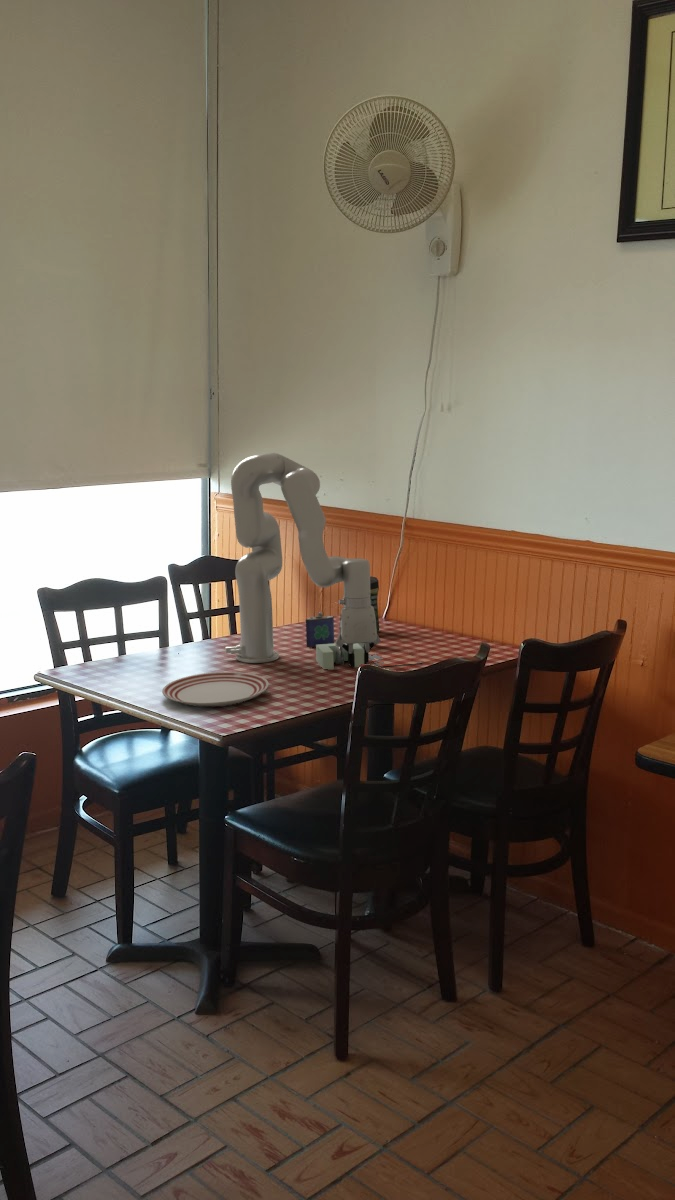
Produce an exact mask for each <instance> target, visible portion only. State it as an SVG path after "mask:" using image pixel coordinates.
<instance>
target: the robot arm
mask: <svg viewBox="0 0 675 1200" xmlns="http://www.w3.org/2000/svg"><path fill="white" fill-rule="evenodd" d="M271 483H273V484H275V485H278V486H280V489H281V493H282V495H283V497H284V500H285V503H286V504H287V507H288V509H289V511H290V514H291V517H292V519H293V521H294V523H295V527H296V528H297V529H296V530H297V532H298V546H299V552H300V557H301V560H302V563H303V565H304V567H305V570H306V571H307V574H308V576H309V578H310V580H311V582H313V583H314V584H315V585H316V586H317V587H319V588H328V587H331V586H333V585H335V584H338V583H342V582H343V597H342V599H338V604H339V605H343V606H342V607H341V611H340V617H339V634H338V636H337V638H336V640H335V641H334V642H335V644H336V645H337V646H340V647H342V648H344V649H345V650H346V651H347V652H348V662H347V664H348V665H349V666H350V665H351V666H350V667H351V668H356V667H355V657H354V653H353V644H357V643H363V647H362V648H363V649H364V664H367V665H368V664H369V663H370V662H369V661H370V659H369V653H370V651H371V650H372V649H373V648H374V646H376V645H378V644H379V643H381V642H382V640H381V638H380V637H379V634H378V633H377V629H376V618H375V612H374V607H372V606H371V600H370V576H371V564H370V561H369V560H367V559H366V558H360V557H359V558H346V557H342V556H338V555H337V556H328V554H327V551H326V549H325V546H324V538H323V537H324V531H325V527H326V523H327V522H326V521H327V519H326V515H325V513H324V511H323V508H322V507H321V504H320V502H319V499H318V498H317V494H318V493H319V490H320V488H321V481H320V479H319V476H318V475H317V473H315V471H314V470H312V469H310V468H308V467H306V466H304V465H302V464H300V463H298V462H296V461H294V460H292V459H290V458H288V457H286V456H284V455H282V454H279V453H275V452H268V453H260V454H254V455H251V456H248V457H246V458H245V459H242V461H240V462H239V463H237V465H236V466H235V467H234V469H233V472H232V474H231V477H230V486H231V487H230V488H231V495H232V496H231V497H232V504H233V516H234V517H233V518H234V526H235V536H236V539H237V543H239V545H240V546H242V547H244V548H247V549H251V552H247V553H245V554H244V555H243V556H241V557H240V558H239V559H238V560H237V563H236V565H235V568H234V569H235V571H234V573H235V574H234V575H235V580H236V585H237V590H238V591H237V592H238V602H239V604H238V606H239V620H240V621H239V624H240V626H239V627H240V642H238V644H237V645H235V646H225V647H224V648H225V649H224V650H225V651H224V652H225V654H230V655H235V654H236V657H235V658H236V660H237V661H238V662H241V663H245V664H246V663H247V664H262V663H269V662H274V661H276V660H278V659H279V658H280V653H279V652H278V651H276V650H274V626H273V625H274V624H273V623H274V622H273V621H274V619H273V601H272V600H273V598H272V592H271V589H270V585H269V581H270V580H273V579H275V578H276V577H278V576H279V574H280V573H281V572H282V568H283V552H282V541H281V540H282V538H281V529H280V525H279V523H278V521H277V519H276V518H275V517H274V516H273V515H272V514H271V513H269V512H266V511H264V500H263V496H262V494H261V491H260V486H262V485H265V484H271ZM342 641H343V642H344V643H346V644H347V645H346V644H344V643H342Z"/></svg>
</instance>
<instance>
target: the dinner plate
mask: <svg viewBox="0 0 675 1200" xmlns="http://www.w3.org/2000/svg"><path fill="white" fill-rule="evenodd" d="M269 686H270V685H269V681H268V679H266V678H265V677H263V676H260V675H257V674H253V673H248V672H247V673H246V672H239V671H236V672H235V671H214V672H213V671H212V672H204V673H198V674H193V675H189V676H185V677H181V678H177V679H175V680H172V681H171V682H169V683H167V684H166V685H165V686H164V687H163V688H162V691H161V692H162V695H163V696H164V697H166V698H167V699H168V700H171V701H174V702H177V703H180V704H184V705H188V704H189V705H188V706H192V705H195V706H194V707H199V706H221V707H226V706H225V705H229V706H233V705H232V704H234V705H237V704H236V703H238V704H241V703H243V701H244V702H246V701H249V700H251V699H254V698H256V697H258V696H260V695H261V694H263V693H264V692H265V691H266V690H267V689H268V688H269ZM240 702H241V703H240Z"/></svg>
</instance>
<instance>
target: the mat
mask: <svg viewBox="0 0 675 1200" xmlns="http://www.w3.org/2000/svg"><path fill="white" fill-rule="evenodd" d="M406 652H408V651H406ZM371 654H372V653H370V654H369V658H370V659H371V660H375V659H374V658H376V659H383V658H380V657H382V656H377V655H376V654H377V653H374V654H375V655H373V656H371ZM370 659H369V660H370ZM371 660H370V661H371ZM376 661H378V660H376ZM378 662H381V661H378ZM374 663H376V665H375V666H376V667H377V666H380V665H378V663H377V662H374ZM374 663H373V664H374ZM381 663H384V662H381ZM417 663H422V664H423V662H422V661H421V660H420V662H417ZM380 668H384V667H383V666H381V667H380Z"/></svg>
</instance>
